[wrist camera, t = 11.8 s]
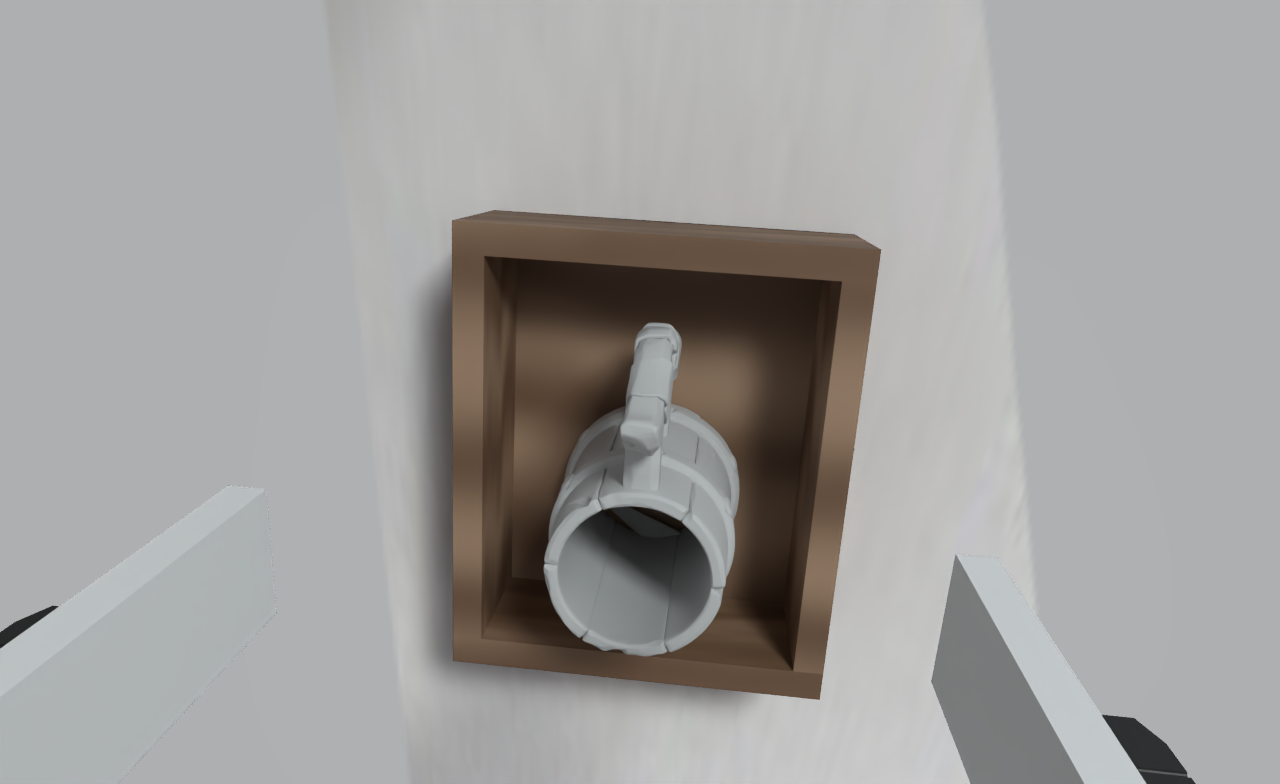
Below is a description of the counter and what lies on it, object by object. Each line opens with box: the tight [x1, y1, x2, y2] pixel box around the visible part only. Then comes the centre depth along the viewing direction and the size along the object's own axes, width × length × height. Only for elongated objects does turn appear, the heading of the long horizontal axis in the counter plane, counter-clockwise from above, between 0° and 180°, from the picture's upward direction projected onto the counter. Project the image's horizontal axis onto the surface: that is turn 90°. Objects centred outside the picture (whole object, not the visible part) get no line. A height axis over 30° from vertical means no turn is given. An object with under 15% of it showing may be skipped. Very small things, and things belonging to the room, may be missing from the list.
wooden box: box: [452, 210, 881, 700], centre depth 35 cm, size 18×15×6 cm
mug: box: [544, 323, 740, 656], centre depth 32 cm, size 8×12×12 cm, turn 177°
